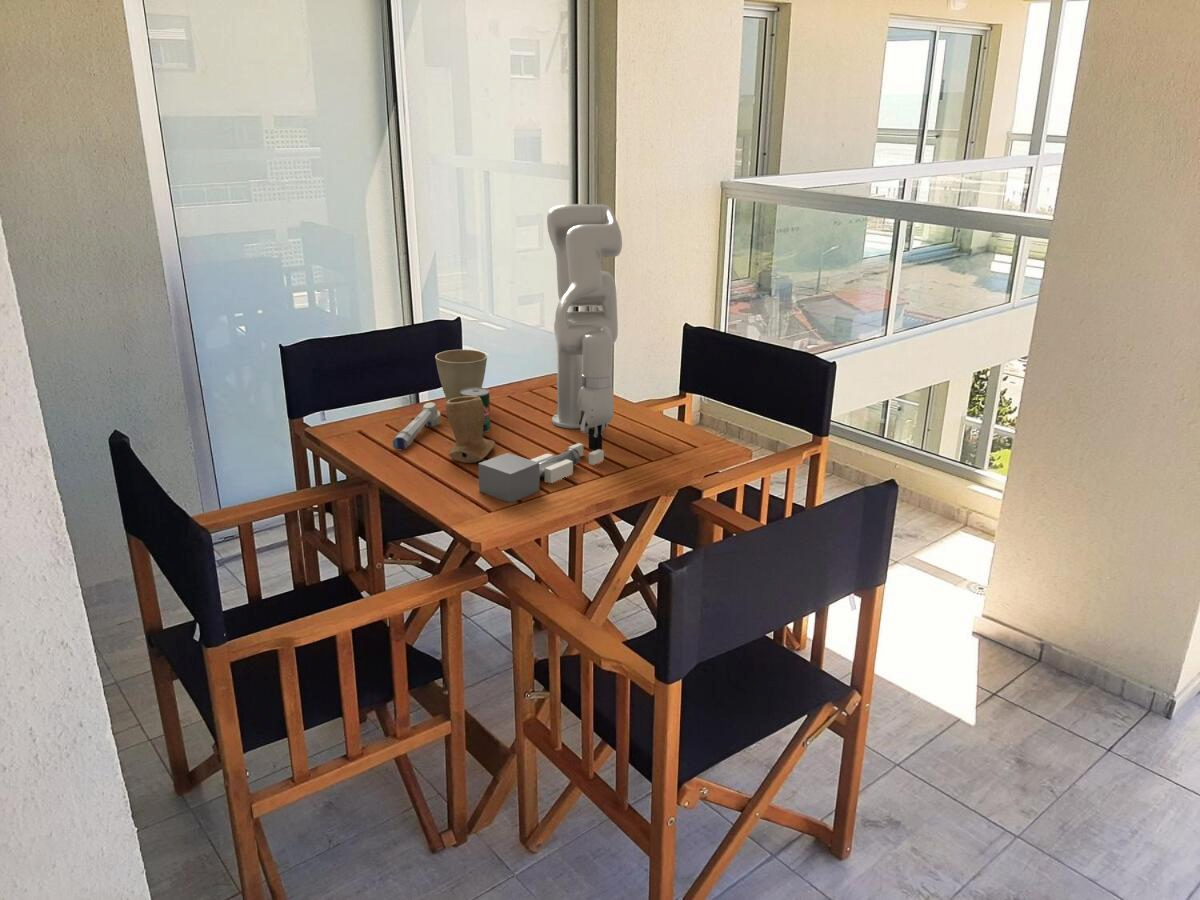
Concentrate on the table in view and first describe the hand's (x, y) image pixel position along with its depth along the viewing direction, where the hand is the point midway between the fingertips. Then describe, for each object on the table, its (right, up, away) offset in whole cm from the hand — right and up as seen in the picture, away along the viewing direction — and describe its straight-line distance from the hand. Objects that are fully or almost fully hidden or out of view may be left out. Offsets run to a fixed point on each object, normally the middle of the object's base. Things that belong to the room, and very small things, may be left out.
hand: (595, 449), depth 241 cm
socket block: (-19, -9, -22) cm, 31 cm away
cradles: (-7, -5, -8) cm, 12 cm away
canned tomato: (-33, +5, +18) cm, 38 cm away
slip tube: (-13, -7, -15) cm, 21 cm away
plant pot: (-39, +12, +36) cm, 55 cm away
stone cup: (-32, -1, 0) cm, 33 cm away
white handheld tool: (-48, +4, +13) cm, 50 cm away
